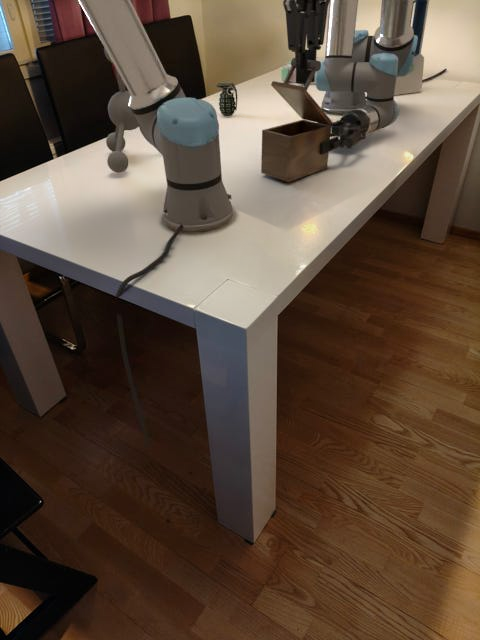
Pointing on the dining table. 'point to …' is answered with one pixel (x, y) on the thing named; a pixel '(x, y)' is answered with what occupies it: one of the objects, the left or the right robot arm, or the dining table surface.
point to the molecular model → (119, 125)
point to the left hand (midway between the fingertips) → (305, 82)
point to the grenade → (227, 99)
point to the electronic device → (415, 75)
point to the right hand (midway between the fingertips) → (305, 144)
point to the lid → (302, 95)
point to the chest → (294, 149)
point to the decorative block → (293, 77)
